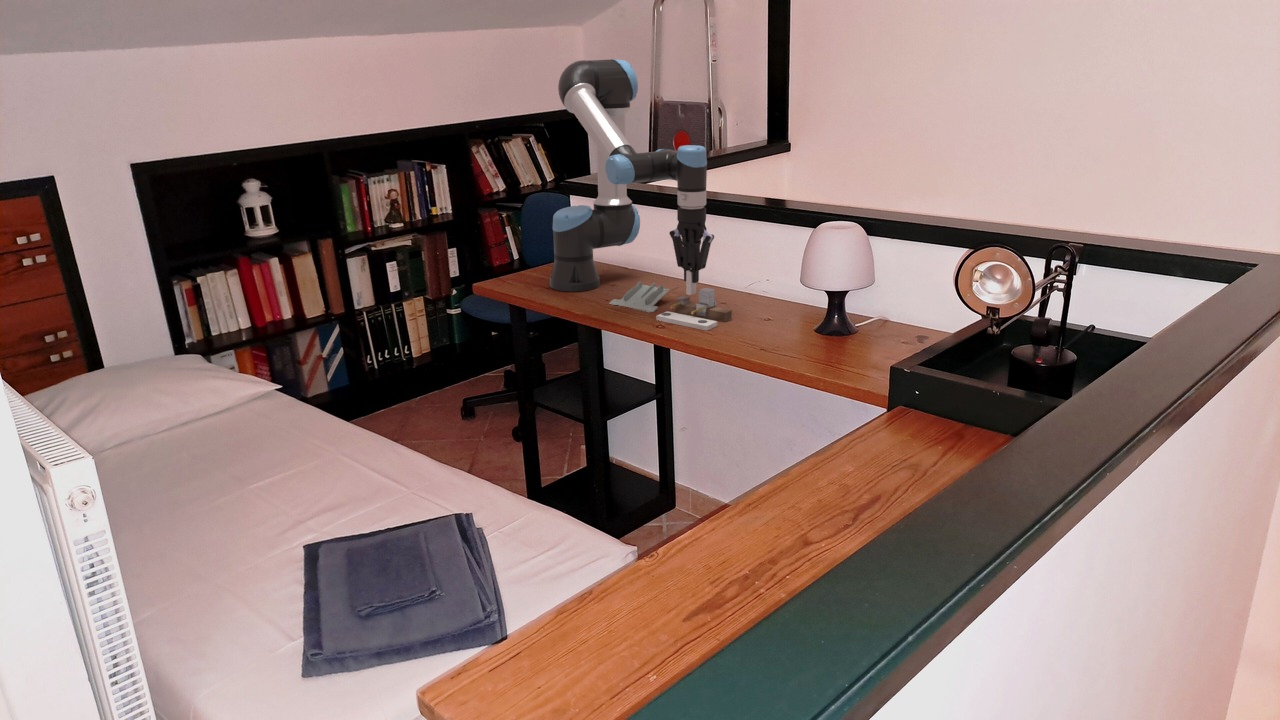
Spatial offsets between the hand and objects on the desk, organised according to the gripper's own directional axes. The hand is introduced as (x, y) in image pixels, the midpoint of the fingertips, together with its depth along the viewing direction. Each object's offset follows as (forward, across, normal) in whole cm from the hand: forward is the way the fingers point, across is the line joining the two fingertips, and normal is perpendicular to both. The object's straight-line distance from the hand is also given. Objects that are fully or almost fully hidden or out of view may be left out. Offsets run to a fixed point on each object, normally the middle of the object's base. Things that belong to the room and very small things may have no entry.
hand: (691, 293), depth 246 cm
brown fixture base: (+6, +4, -2) cm, 7 cm away
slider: (+5, +5, -2) cm, 7 cm away
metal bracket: (+6, -17, 0) cm, 18 cm away
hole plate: (+6, +4, -8) cm, 10 cm away
